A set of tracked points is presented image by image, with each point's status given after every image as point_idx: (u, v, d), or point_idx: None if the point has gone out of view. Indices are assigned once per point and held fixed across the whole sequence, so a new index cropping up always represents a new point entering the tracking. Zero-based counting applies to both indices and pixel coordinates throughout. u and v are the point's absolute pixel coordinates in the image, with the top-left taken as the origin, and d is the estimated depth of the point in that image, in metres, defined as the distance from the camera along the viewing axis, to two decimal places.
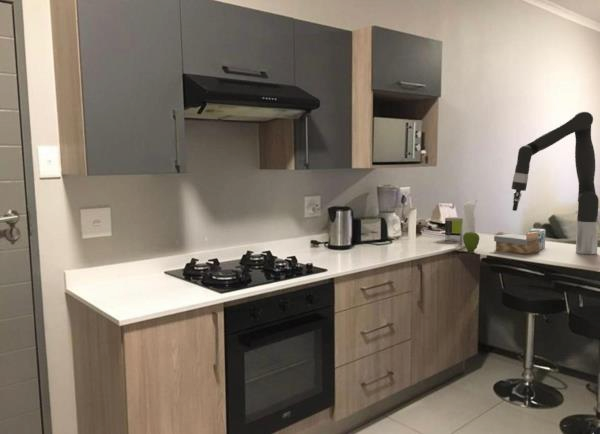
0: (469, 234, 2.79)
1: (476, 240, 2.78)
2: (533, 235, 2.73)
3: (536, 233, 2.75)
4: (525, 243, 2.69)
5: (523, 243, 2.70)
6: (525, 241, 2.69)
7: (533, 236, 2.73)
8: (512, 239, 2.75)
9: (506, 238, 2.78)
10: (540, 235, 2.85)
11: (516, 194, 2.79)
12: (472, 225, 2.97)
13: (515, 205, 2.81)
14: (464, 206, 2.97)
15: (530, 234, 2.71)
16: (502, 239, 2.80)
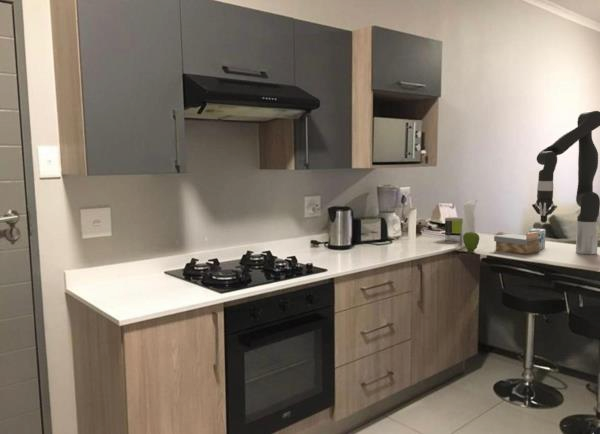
0: (469, 234, 2.79)
1: (476, 240, 2.78)
2: (533, 235, 2.73)
3: (536, 233, 2.75)
4: (525, 243, 2.69)
5: (523, 243, 2.70)
6: (525, 241, 2.69)
7: (533, 236, 2.73)
8: (512, 239, 2.75)
9: (506, 238, 2.78)
10: (540, 235, 2.85)
11: (554, 208, 2.62)
12: (472, 225, 2.97)
13: None
14: (464, 206, 2.97)
15: (530, 234, 2.71)
16: (502, 239, 2.80)
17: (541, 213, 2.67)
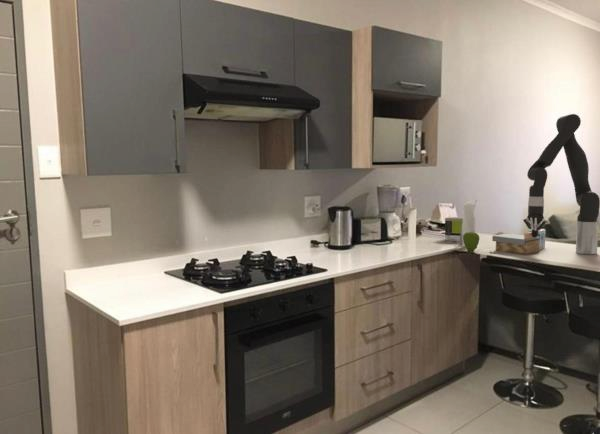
0: (469, 234, 2.80)
1: (476, 240, 2.78)
2: (531, 235, 2.74)
3: None
4: (523, 243, 2.70)
5: (521, 243, 2.71)
6: (523, 241, 2.70)
7: (531, 236, 2.74)
8: (510, 239, 2.76)
9: (504, 238, 2.79)
10: (540, 235, 2.85)
11: (545, 223, 2.67)
12: (472, 225, 2.97)
13: None
14: (464, 206, 2.97)
15: (528, 234, 2.72)
16: (500, 239, 2.81)
17: (532, 228, 2.72)
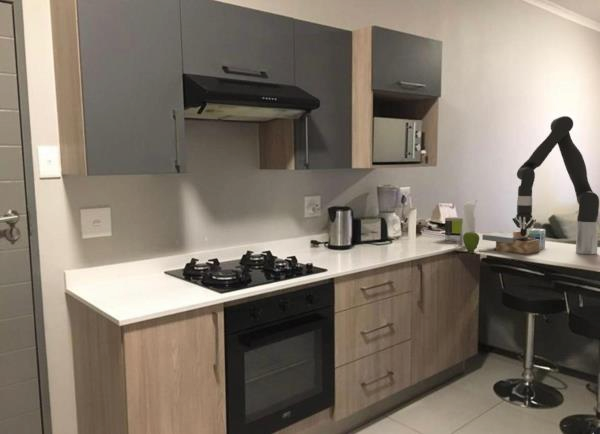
0: (469, 234, 2.80)
1: (476, 240, 2.78)
2: (520, 234, 2.79)
3: None
4: (512, 241, 2.75)
5: (510, 241, 2.76)
6: (512, 239, 2.75)
7: (520, 235, 2.79)
8: (499, 237, 2.81)
9: (494, 236, 2.84)
10: (540, 235, 2.85)
11: (533, 222, 2.72)
12: (472, 225, 2.97)
13: None
14: (464, 206, 2.97)
15: (517, 233, 2.77)
16: (490, 237, 2.86)
17: (521, 227, 2.77)
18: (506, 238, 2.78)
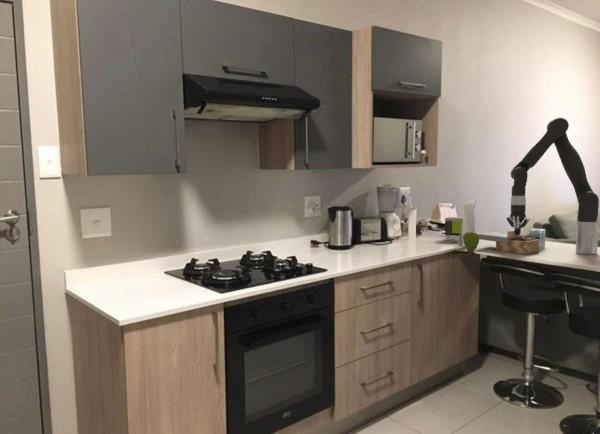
0: (469, 234, 2.79)
1: (476, 240, 2.78)
2: (514, 233, 2.82)
3: None
4: (506, 241, 2.78)
5: (504, 241, 2.79)
6: (506, 239, 2.78)
7: (514, 234, 2.82)
8: (494, 237, 2.84)
9: (488, 236, 2.87)
10: (540, 235, 2.85)
11: (527, 221, 2.75)
12: (472, 225, 2.97)
13: None
14: (464, 206, 2.97)
15: (511, 232, 2.80)
16: (484, 237, 2.89)
17: (515, 226, 2.80)
18: (500, 237, 2.81)
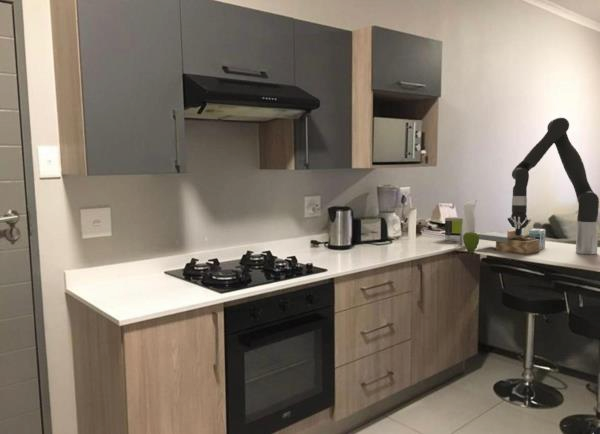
0: (469, 234, 2.80)
1: (476, 240, 2.78)
2: (514, 233, 2.82)
3: None
4: (506, 241, 2.78)
5: (504, 241, 2.79)
6: (506, 239, 2.78)
7: (514, 234, 2.82)
8: (494, 237, 2.84)
9: (488, 236, 2.87)
10: (540, 235, 2.85)
11: (528, 222, 2.75)
12: (472, 225, 2.97)
13: None
14: (464, 206, 2.97)
15: (511, 232, 2.80)
16: (484, 237, 2.89)
17: (516, 226, 2.80)
18: (500, 237, 2.81)
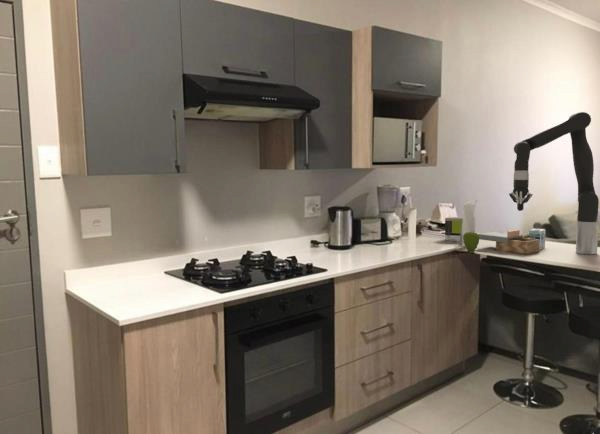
0: (469, 234, 2.79)
1: (476, 240, 2.78)
2: (514, 233, 2.82)
3: (517, 231, 2.83)
4: (506, 241, 2.78)
5: (504, 241, 2.79)
6: (506, 239, 2.78)
7: (514, 234, 2.82)
8: (494, 237, 2.84)
9: (488, 236, 2.87)
10: (540, 235, 2.85)
11: (530, 196, 2.73)
12: (472, 225, 2.97)
13: None
14: (464, 206, 2.97)
15: (511, 232, 2.80)
16: (484, 237, 2.89)
17: (517, 201, 2.78)
18: (500, 237, 2.81)
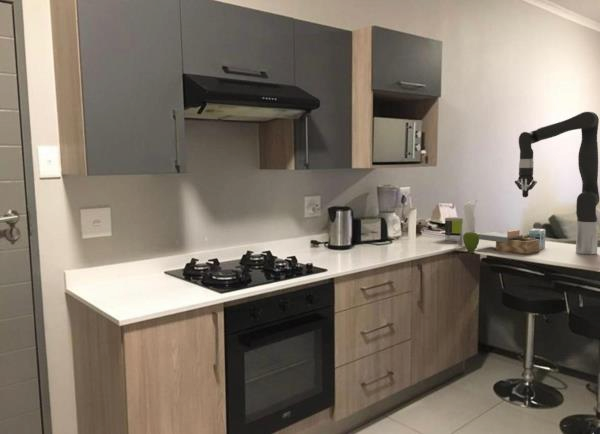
0: (469, 234, 2.79)
1: (476, 240, 2.78)
2: (514, 233, 2.82)
3: (517, 231, 2.83)
4: (506, 241, 2.78)
5: (504, 241, 2.79)
6: (506, 239, 2.78)
7: (514, 234, 2.82)
8: (494, 237, 2.84)
9: (488, 236, 2.87)
10: (540, 235, 2.85)
11: (534, 183, 2.87)
12: (472, 225, 2.97)
13: None
14: (464, 206, 2.97)
15: (511, 232, 2.80)
16: (484, 237, 2.89)
17: (523, 188, 2.92)
18: (500, 237, 2.81)
